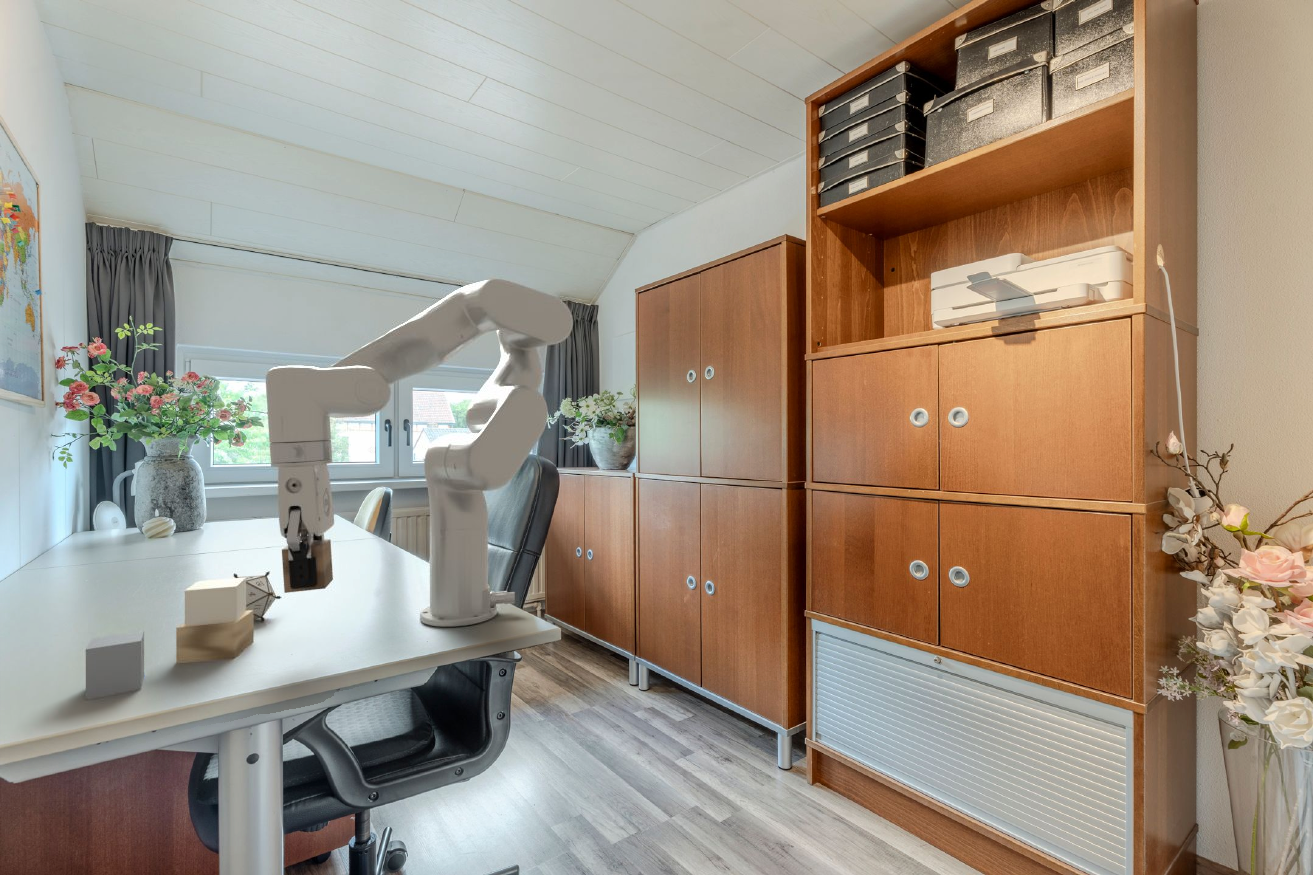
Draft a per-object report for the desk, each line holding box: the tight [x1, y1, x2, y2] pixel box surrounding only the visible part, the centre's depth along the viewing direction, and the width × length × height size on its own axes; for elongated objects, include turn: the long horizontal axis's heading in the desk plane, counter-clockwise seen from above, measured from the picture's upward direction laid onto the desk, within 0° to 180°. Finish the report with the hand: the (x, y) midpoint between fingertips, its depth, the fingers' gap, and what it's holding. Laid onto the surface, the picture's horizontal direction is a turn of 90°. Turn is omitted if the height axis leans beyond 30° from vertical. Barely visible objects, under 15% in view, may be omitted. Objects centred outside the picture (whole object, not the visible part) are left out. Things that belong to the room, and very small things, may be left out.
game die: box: [233, 570, 282, 623], centre depth 103 cm, size 9×8×10 cm
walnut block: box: [281, 538, 334, 594], centre depth 87 cm, size 5×5×6 cm
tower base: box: [175, 610, 255, 664], centre depth 88 cm, size 7×7×5 cm
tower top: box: [184, 577, 246, 627], centre depth 88 cm, size 6×6×5 cm
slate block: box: [85, 630, 145, 701], centre depth 75 cm, size 5×5×6 cm
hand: (309, 580), depth 87 cm, fingers closed on walnut block, 5 cm apart
